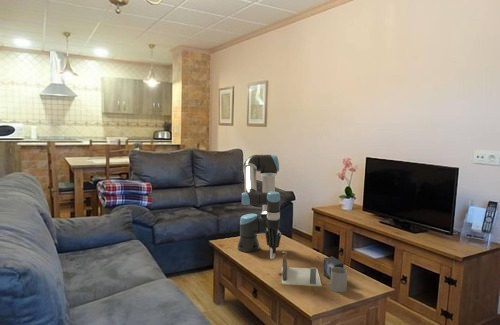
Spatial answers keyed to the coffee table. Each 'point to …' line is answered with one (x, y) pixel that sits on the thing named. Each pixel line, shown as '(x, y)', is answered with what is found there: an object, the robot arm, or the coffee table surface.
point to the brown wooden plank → (284, 255)
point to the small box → (331, 265)
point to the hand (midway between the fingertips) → (272, 258)
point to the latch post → (312, 275)
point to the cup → (338, 279)
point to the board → (300, 277)
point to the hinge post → (284, 271)
